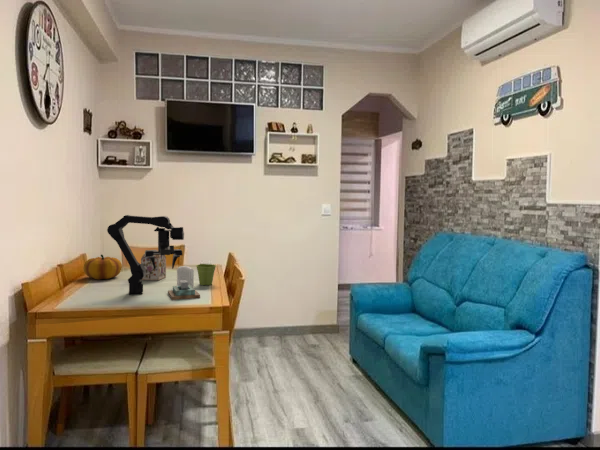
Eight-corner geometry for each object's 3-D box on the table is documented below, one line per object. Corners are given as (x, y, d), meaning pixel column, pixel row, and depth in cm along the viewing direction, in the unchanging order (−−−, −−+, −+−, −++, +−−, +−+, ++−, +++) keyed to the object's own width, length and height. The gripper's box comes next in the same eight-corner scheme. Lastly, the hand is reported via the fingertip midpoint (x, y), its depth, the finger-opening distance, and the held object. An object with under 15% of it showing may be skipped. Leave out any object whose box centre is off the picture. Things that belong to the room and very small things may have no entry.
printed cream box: (194, 288, 255) (194, 266, 254) (189, 289, 252) (189, 267, 251) (181, 286, 260) (181, 264, 260) (175, 287, 257) (175, 265, 256)
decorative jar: (166, 277, 287) (166, 249, 286) (159, 280, 275) (158, 251, 274) (148, 276, 288) (148, 248, 287) (140, 280, 276) (140, 250, 275)
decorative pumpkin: (122, 280, 276) (121, 255, 275) (82, 282, 268) (81, 256, 267) (122, 274, 295) (121, 251, 294) (84, 276, 286) (84, 252, 285)
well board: (171, 299, 226) (171, 291, 226) (167, 293, 241) (167, 285, 240) (200, 297, 231) (200, 290, 231) (194, 291, 246) (194, 284, 246)
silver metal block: (181, 294, 232) (181, 282, 232) (179, 291, 238) (179, 280, 238) (188, 293, 233) (188, 282, 233) (186, 291, 240) (186, 279, 239)
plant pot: (211, 286, 260) (211, 267, 259) (192, 285, 262) (192, 266, 261) (219, 283, 271) (219, 264, 270) (200, 282, 274) (200, 263, 273)
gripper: (146, 241, 228) (146, 272, 229) (184, 240, 235) (184, 270, 236) (144, 239, 238) (144, 269, 239) (180, 238, 245) (180, 267, 246)
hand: (163, 269), depth 240 cm, fingers open, 9 cm apart
